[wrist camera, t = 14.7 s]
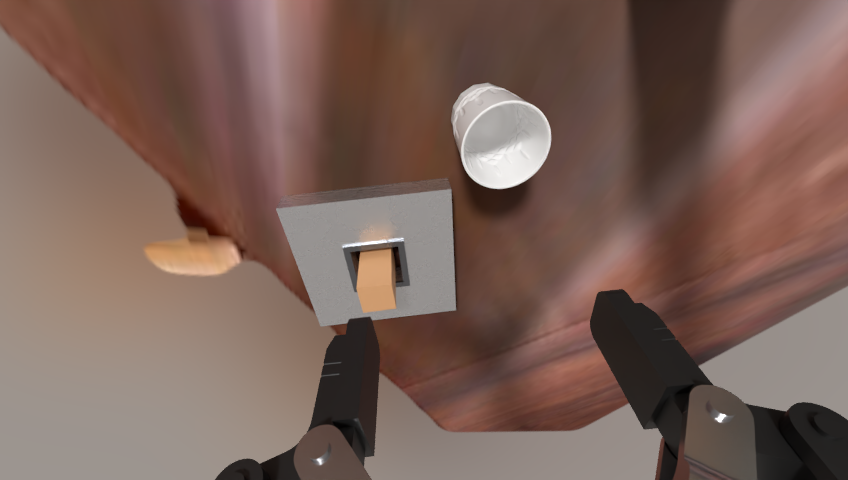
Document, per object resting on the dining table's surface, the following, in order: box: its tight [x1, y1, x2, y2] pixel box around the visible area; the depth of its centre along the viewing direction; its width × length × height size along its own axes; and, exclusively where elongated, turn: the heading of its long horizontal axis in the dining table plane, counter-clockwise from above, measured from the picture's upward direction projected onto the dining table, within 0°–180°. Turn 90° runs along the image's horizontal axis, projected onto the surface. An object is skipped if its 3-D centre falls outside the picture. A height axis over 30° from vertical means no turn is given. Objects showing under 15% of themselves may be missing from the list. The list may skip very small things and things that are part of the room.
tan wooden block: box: [356, 247, 396, 313], centre depth 44 cm, size 4×4×9 cm
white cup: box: [451, 83, 551, 189], centre depth 34 cm, size 8×8×10 cm
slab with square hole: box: [276, 178, 456, 326], centre depth 47 cm, size 20×20×3 cm
